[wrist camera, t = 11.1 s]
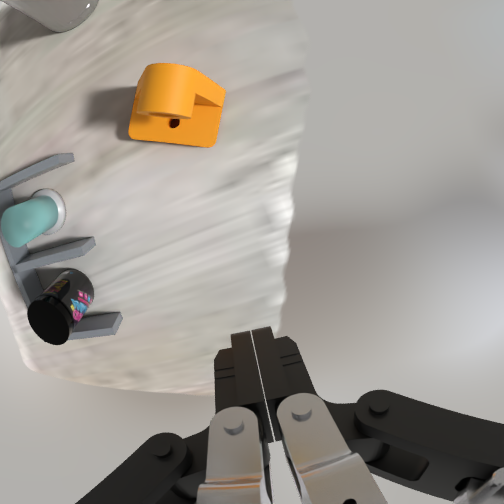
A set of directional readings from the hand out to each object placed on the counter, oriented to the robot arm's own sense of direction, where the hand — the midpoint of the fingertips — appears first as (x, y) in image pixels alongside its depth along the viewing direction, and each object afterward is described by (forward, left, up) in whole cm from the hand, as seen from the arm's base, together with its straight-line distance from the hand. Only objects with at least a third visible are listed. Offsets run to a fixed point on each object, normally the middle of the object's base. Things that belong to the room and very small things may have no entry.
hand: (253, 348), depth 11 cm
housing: (-13, -23, -29) cm, 39 cm away
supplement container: (-6, -25, -29) cm, 39 cm away
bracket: (-13, +3, -29) cm, 32 cm away
